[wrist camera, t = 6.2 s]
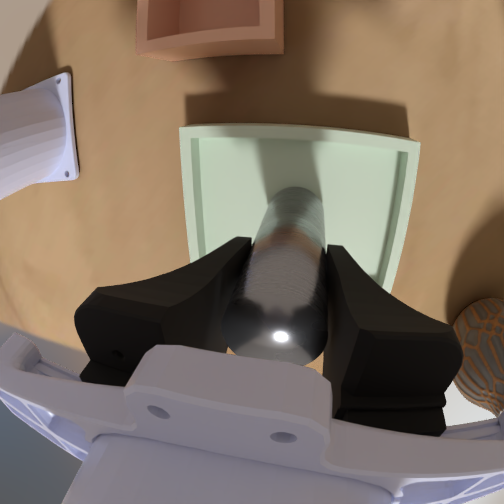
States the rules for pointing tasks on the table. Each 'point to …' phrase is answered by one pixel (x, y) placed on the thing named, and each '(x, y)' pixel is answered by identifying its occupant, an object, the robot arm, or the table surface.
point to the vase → (482, 354)
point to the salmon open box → (208, 28)
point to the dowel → (282, 284)
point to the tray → (300, 185)
